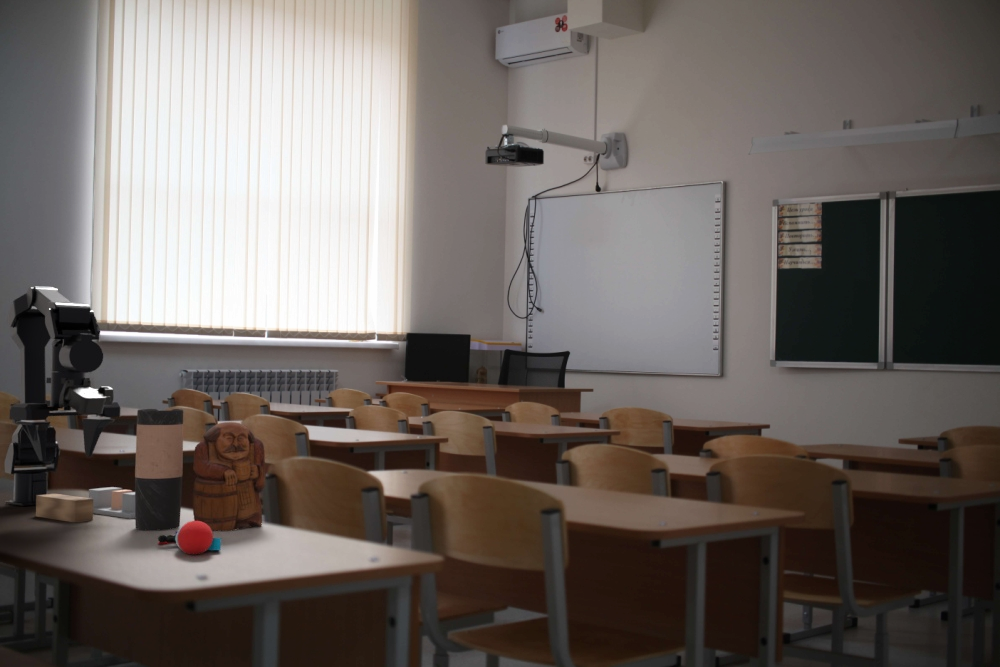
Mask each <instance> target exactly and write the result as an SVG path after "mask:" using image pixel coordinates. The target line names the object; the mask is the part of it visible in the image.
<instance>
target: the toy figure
mask: <svg viewBox="0 0 1000 667" xmlns="http://www.w3.org/2000/svg"><path fill="white" fill-rule="evenodd" d="M174 532H175V533H174V534H168V535H165V534H160V535H159V536H158V537H157V540H158V542H157V544H158V545H159V546H163V545H173V544H176V545H177V547H178V549H180V550H181V551H182V552H183V553H185V554H187V555H201V554H203V553H205V552H206V551H220V550H221V545H222V544H221V543H222V538H220V537H218V538H217V537H214V535H213V534H214V533H213V531H212V530H211V528H210V527H209V526H208V525H207V524H206V523H204V522H201V521H194V520H192V521H188V522H187V523H185V524H184V525H182V526H180V527H179V530H176V531H174Z"/></svg>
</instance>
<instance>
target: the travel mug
mask: <svg viewBox="0 0 1000 667" xmlns="http://www.w3.org/2000/svg"><path fill="white" fill-rule="evenodd" d="M136 415H137V416H136V441H135V465H134V466H135V468H134V477H135V478H134V492H135V518H134V519H135V521H134V522H135V529H136V530H139V531H153V532H154V531H155V532H157V531H168V530H169V531H171V530H174V529H178V528H180V527H181V525H180V524H181V512H182V511H181V507H182V491H183V472H184V471H183V468H184V466H183V465H184V464H183V460H184V459H183V458H184V457H183V455H184V454H183V453H184V409H182V408H173V409H171V410H170V409H169V410H167V409H165V410H158V409H157V408H142V409H141V408H139V409H137V414H136Z"/></svg>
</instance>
